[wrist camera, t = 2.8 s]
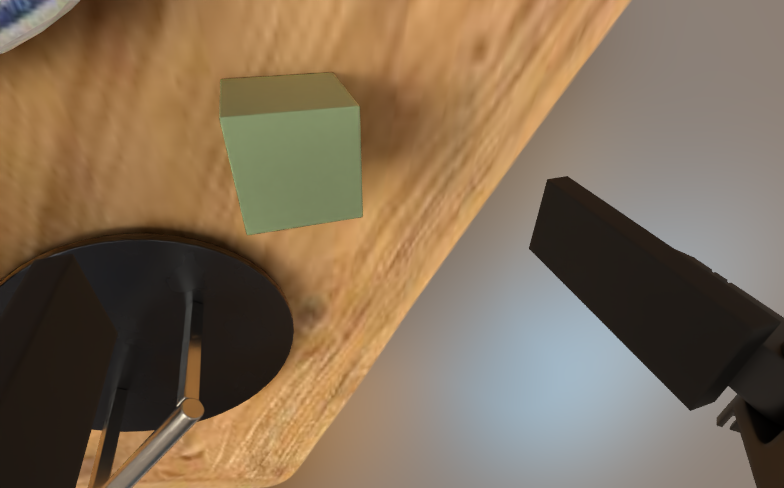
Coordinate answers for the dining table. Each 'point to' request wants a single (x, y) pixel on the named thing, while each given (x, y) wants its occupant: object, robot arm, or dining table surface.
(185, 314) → the lid
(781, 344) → the robot arm
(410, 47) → the dining table surface
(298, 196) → the block
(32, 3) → the ceramic plate
